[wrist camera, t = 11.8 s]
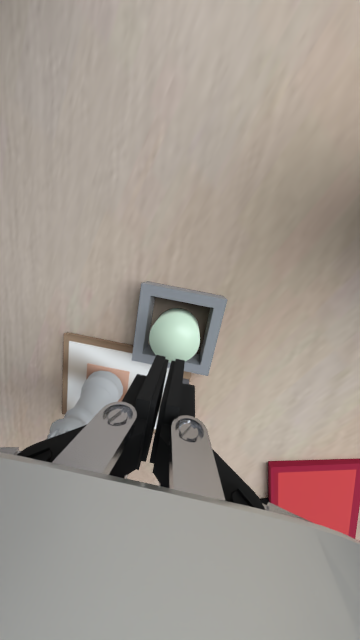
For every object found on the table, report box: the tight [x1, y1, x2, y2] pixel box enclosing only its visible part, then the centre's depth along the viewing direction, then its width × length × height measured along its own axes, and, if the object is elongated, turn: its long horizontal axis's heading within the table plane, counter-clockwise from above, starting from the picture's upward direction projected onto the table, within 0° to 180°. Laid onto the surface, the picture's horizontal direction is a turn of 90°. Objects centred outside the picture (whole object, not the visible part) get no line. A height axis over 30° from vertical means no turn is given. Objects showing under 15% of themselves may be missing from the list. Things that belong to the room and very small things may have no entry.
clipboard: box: [62, 332, 191, 433], centre depth 22 cm, size 11×15×2 cm
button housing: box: [132, 281, 227, 376], centre depth 20 cm, size 8×8×2 cm
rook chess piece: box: [46, 371, 123, 440], centre depth 19 cm, size 4×4×8 cm
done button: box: [149, 308, 200, 363], centre depth 18 cm, size 4×4×3 cm
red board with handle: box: [261, 459, 360, 539], centre depth 27 cm, size 30×3×15 cm
